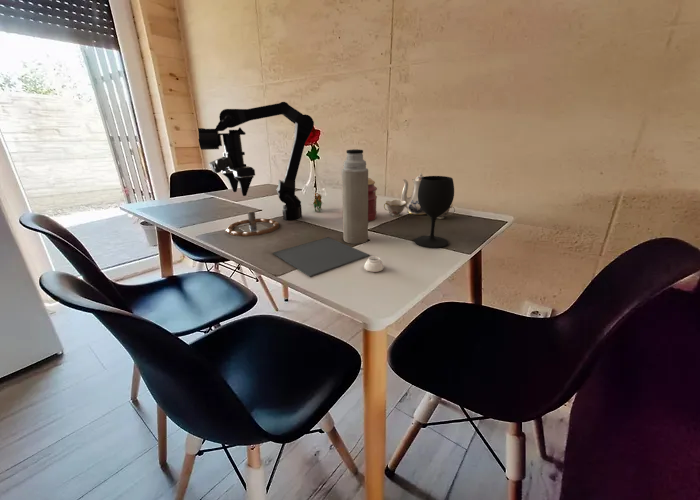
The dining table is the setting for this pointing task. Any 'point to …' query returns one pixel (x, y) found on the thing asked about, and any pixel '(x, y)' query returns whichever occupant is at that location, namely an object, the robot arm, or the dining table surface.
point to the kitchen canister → (371, 200)
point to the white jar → (373, 264)
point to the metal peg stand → (252, 223)
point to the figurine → (317, 202)
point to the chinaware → (410, 201)
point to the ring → (231, 232)
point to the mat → (320, 256)
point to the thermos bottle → (355, 198)
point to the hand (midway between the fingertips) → (239, 193)
